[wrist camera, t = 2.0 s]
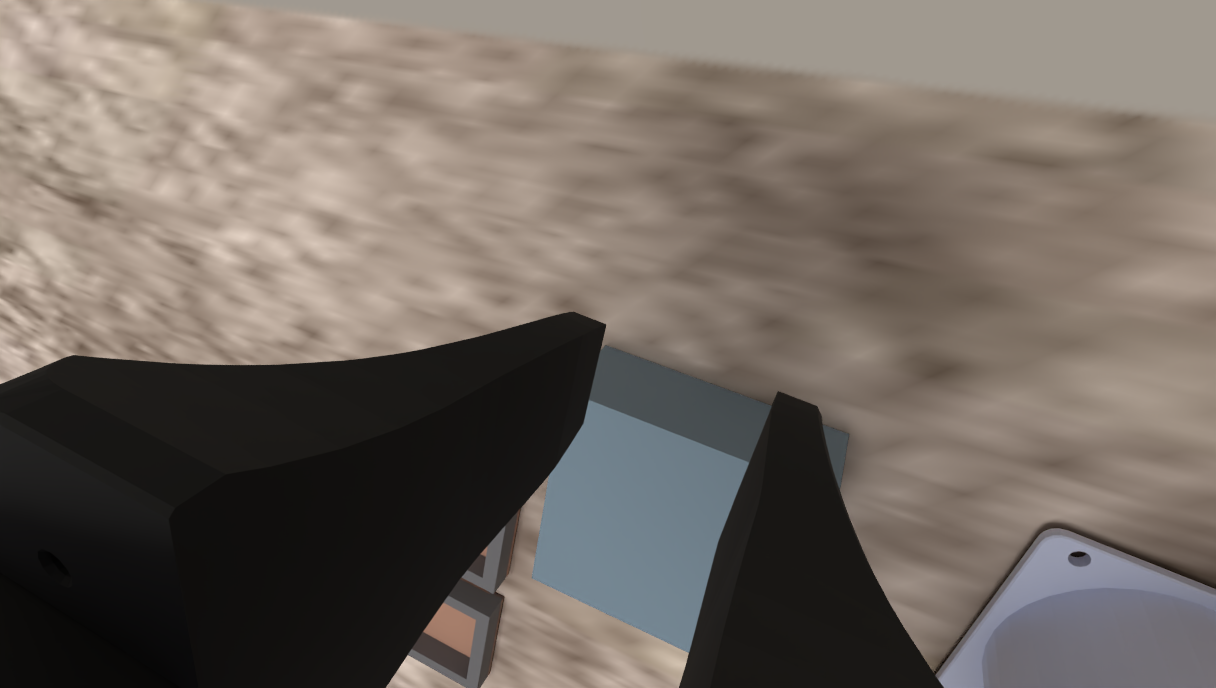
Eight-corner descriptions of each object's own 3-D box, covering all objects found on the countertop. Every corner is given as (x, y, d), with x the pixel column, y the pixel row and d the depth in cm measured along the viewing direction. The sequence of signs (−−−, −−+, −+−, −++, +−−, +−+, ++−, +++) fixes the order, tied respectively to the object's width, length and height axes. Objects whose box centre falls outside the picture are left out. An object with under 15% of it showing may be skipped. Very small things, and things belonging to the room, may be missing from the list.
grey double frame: (526, 478, 26) (510, 496, 25) (489, 672, 32) (476, 693, 31) (407, 423, 27) (388, 438, 26) (394, 620, 34) (378, 638, 33)
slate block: (850, 428, 21) (838, 497, 18) (772, 603, 24) (753, 683, 22) (609, 341, 23) (563, 390, 20) (574, 515, 27) (531, 577, 24)
